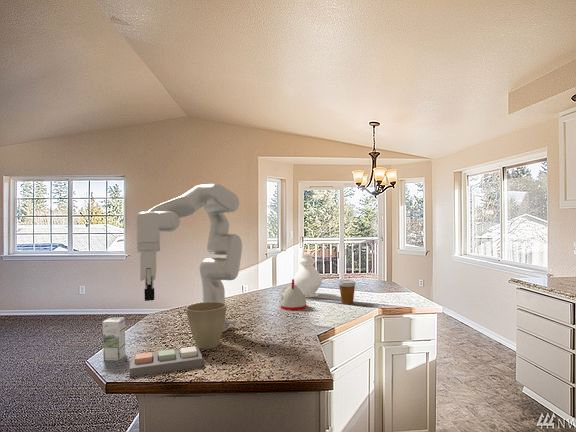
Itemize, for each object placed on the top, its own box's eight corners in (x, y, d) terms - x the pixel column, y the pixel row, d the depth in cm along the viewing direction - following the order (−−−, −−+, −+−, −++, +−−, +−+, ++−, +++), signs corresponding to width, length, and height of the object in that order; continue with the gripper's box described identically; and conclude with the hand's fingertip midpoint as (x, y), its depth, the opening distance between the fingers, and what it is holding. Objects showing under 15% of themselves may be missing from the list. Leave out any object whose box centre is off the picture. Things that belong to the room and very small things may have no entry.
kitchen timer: (307, 304, 214) (306, 277, 214) (305, 310, 200) (305, 281, 200) (282, 304, 215) (281, 277, 215) (279, 310, 201) (278, 281, 201)
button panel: (198, 356, 136) (198, 346, 136) (202, 369, 125) (202, 358, 125) (132, 366, 129) (131, 355, 129) (129, 380, 118) (129, 368, 118)
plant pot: (210, 339, 156) (209, 300, 156) (235, 346, 146) (234, 304, 146) (178, 349, 144) (177, 307, 144) (204, 358, 135) (203, 312, 135)
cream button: (195, 353, 133) (195, 346, 133) (196, 358, 128) (196, 351, 128) (180, 355, 131) (180, 348, 131) (181, 360, 126) (181, 353, 126)
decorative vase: (327, 293, 241) (326, 254, 241) (313, 299, 226) (312, 256, 226) (302, 291, 251) (301, 253, 251) (288, 296, 236) (287, 255, 236)
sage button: (174, 356, 130) (174, 349, 130) (175, 361, 126) (174, 353, 126) (158, 358, 129) (158, 351, 129) (158, 363, 124) (158, 356, 124)
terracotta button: (152, 359, 128) (152, 351, 128) (152, 364, 123) (152, 356, 123) (136, 361, 126) (136, 353, 126) (135, 367, 122) (135, 359, 122)
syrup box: (126, 357, 138) (125, 316, 138) (119, 363, 132) (118, 321, 132) (110, 357, 138) (109, 317, 138) (102, 363, 132) (101, 321, 132)
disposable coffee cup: (357, 304, 210) (356, 282, 210) (339, 305, 210) (339, 283, 210) (354, 300, 220) (354, 279, 220) (337, 301, 220) (337, 280, 220)
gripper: (137, 246, 140) (138, 296, 140) (135, 249, 126) (137, 305, 126) (159, 245, 142) (160, 295, 142) (160, 248, 128) (161, 303, 128)
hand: (149, 299), depth 134 cm, fingers closed
